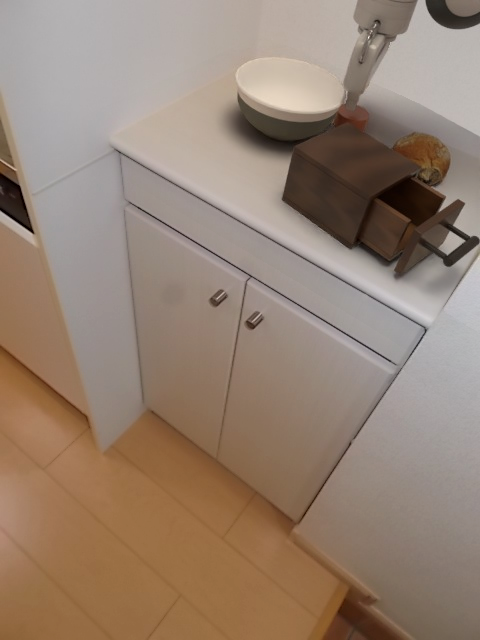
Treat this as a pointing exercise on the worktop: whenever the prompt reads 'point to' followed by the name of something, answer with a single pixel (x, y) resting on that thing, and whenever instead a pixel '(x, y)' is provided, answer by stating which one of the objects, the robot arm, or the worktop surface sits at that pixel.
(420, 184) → the drawer
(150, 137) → the worktop surface
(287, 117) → the bowl
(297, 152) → the cabinet
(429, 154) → the bread roll
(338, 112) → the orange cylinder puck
